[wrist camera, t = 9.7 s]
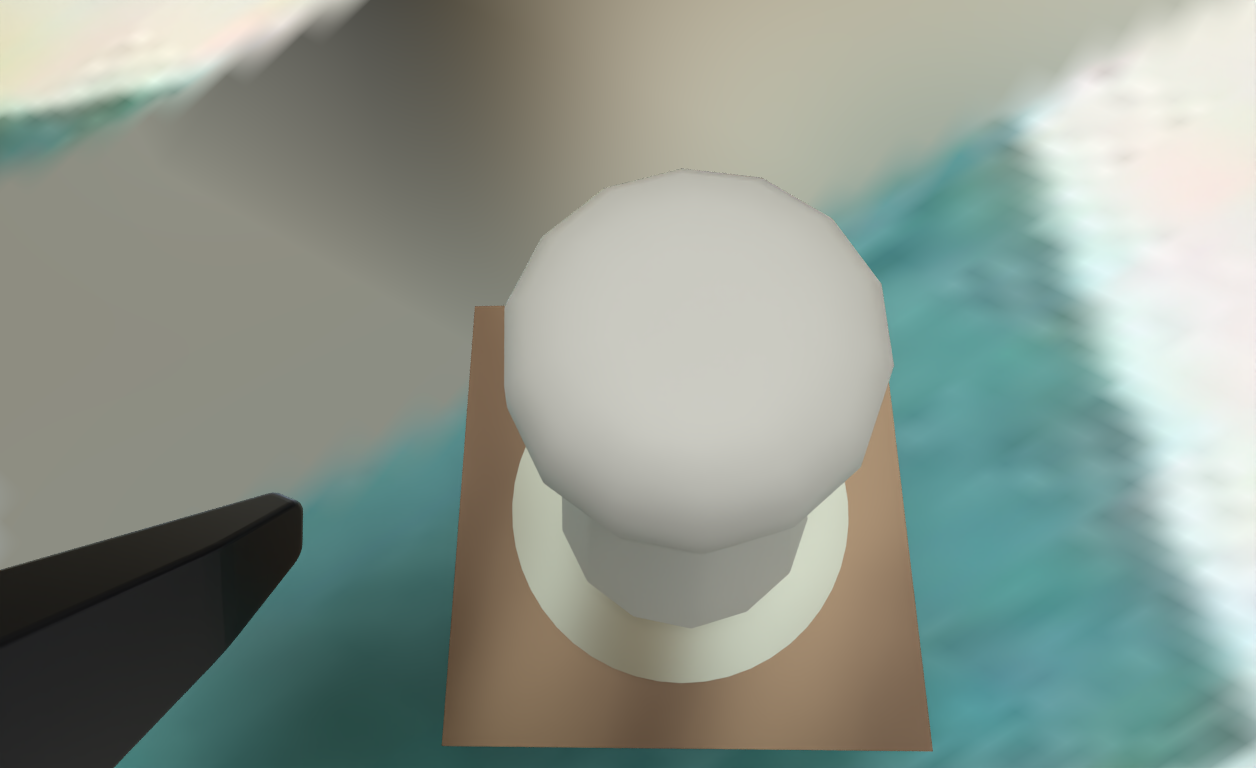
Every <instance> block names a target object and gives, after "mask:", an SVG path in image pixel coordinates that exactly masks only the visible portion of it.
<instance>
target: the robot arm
mask: <svg viewBox="0 0 1256 768" xmlns="http://www.w3.org/2000/svg"><path fill="white" fill-rule="evenodd" d="M302 539H303V508H302V506H301V504H300V503H299V502H298V501H296V500H294V499H292V498H289V497H287V496H284V495H282V494H279V493H269V494H265V495H261V496H258V497H254V498H251V499H247V500H244V501H240V502H237V503H233V504H230V505H226V506H223V507H219V508H216V509H212V510H208V511H205V512H201V513H198V514H194V515H191V516H188V517H184V518H180V519H177V520H173V521H170V522H167V523H163V524H159V525H156V526H152V527H149V528H145V529H142V530H139V531H135V532H131V533H128V534H124V535H121V536H117V537H114V538H110V539H107V540H104V541H100V542H96V543H93V544H90V545H86V546H82V547H79V548H75V549H72V550H68V551H65V552H61V553H58V554H54V555H51V556H47V557H44V558H40V559H37V560H33V561H30V562H26V563H23V564H19V565H16V566H12V567H8V568H5V569H1V570H0V768H114V767H115V766H116V765H117V764H118V763H119V762H120V761H121V760H122V759H123V757H124V756H125V755H126V754H127V753H128V752H129V751H130V750H131V749H132V748H133V747H134V746H135V745H136V744H137V743H138V742H139V741H140V740H141V739H142V738H143V737H144V736H145V735H146V733H147V732H148V731H149V730H150V729H151V728H152V727H153V726H154V725H155V724H156V723H157V722H158V721H159V720H160V719H161V718H162V717H163V716H164V715H165V714H166V713H167V712H168V711H169V709H170V708H171V707H172V706H173V705H174V704H175V703H176V702H177V701H178V700H179V699H180V698H181V697H182V696H183V695H184V694H185V693H186V692H187V691H188V690H189V689H190V688H191V686H192V685H193V684H194V683H195V682H196V681H197V680H198V679H199V678H200V677H201V676H202V675H203V674H204V673H205V672H206V671H207V670H208V669H209V668H210V667H211V666H212V665H213V663H214V662H215V661H216V660H217V659H218V658H219V657H220V656H221V655H222V654H223V653H224V651H225V650H226V649H227V648H228V647H229V646H230V644H231V643H232V642H233V641H234V640H235V638H236V637H237V636H238V635H239V633H240V632H241V631H242V630H243V628H244V627H245V626H246V625H247V623H248V622H249V621H250V620H251V618H252V617H253V616H254V614H255V613H256V612H257V611H258V609H259V608H260V607H261V606H262V604H263V603H264V602H265V600H266V599H267V598H268V597H269V595H270V594H271V593H272V592H273V590H274V589H275V588H276V586H277V585H278V584H279V583H280V581H281V580H282V579H283V578H284V576H285V575H286V574H287V572H288V571H289V570H290V569H291V567H292V566H293V565H294V563H295V562H296V561H297V559H298V557H299V555H300V553H301V549H302Z"/></svg>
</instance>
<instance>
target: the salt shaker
mask: <svg viewBox="0 0 1256 768" xmlns="http://www.w3.org/2000/svg"><path fill="white" fill-rule="evenodd" d="M893 367H894V363H893V357H892V350H891V344H890V337H889V331H888V324H887V318H886V311H885V305H884V298H883V291H882V285H881V283H880V282H879V280H878V279H877V278H876V276H875V275H874V274H873V272H872V271H871V270H870V268H869V267H868V266H867V264H866V263H865V262H864V260H863V259H862V258H861V256H860V255H859V254H858V252H857V251H856V250H855V248H854V247H853V245H852V244H851V243H850V241H849V240H848V239H847V237H846V236H845V235H844V233H843V232H842V231H841V229H840V228H839V227H838V225H837V224H836V223H835V221H834V220H833V219H832V218H830V217H829V216H827V215H825V214H823V213H822V212H820V211H818V210H817V209H815V208H813V207H811V206H810V205H808V204H806V203H805V202H803V201H801V200H800V199H798V198H796V197H794V196H793V195H791V194H789V193H788V192H786V191H784V190H782V189H781V188H779V187H777V186H776V185H774V184H772V183H770V182H769V181H767V180H765V179H763V178H760V177H751V176H743V175H734V174H725V173H716V172H708V171H700V170H691V169H682V168H681V169H677V170H674V171H670V172H666V173H662V174H658V175H654V176H650V177H646V178H642V179H638V180H634V181H630V182H626V183H622V184H618V185H614V186H610V187H606V188H603V189H602V190H601V191H600V192H598V193H597V194H596V195H595V196H593V197H592V198H591V199H590V200H588V201H587V202H586V203H584V204H583V205H582V206H581V207H579V208H578V209H577V210H576V211H574V212H573V213H572V214H570V215H569V216H568V217H567V218H565V219H564V220H563V221H562V222H560V223H559V224H558V225H556V226H555V227H554V228H553V229H551V230H550V231H549V232H548V233H546V234H545V235H544V236H543V237H542V238H541V240H540V241H539V244H538V245H537V247H536V249H535V251H534V253H533V254H532V256H531V258H530V260H529V262H528V264H527V266H526V267H525V270H524V271H523V273H522V275H521V277H520V279H519V281H518V282H517V284H516V286H515V288H514V290H513V292H512V294H511V296H510V297H509V299H508V301H507V303H506V305H505V309H504V389H505V396H506V404H507V408H508V411H509V413H510V415H511V417H512V419H513V421H514V423H515V425H516V427H517V429H518V431H519V433H520V436H521V438H522V440H523V442H524V444H525V446H526V448H527V450H528V452H529V454H530V456H531V458H532V461H533V463H534V465H535V467H536V469H537V471H538V473H539V475H540V477H541V479H542V481H543V483H544V484H545V485H547V486H548V487H550V488H551V489H552V490H554V491H555V492H556V493H558V494H559V495H560V496H562V531H563V533H564V535H565V537H566V539H567V541H568V543H569V545H570V547H571V549H572V551H573V553H574V555H575V557H576V559H577V561H578V563H579V565H580V568H581V570H582V572H583V574H584V576H585V578H586V580H587V582H589V583H590V584H591V585H592V586H594V587H595V588H596V589H598V590H599V591H600V592H602V593H603V594H604V595H606V596H607V597H608V598H610V599H611V600H612V601H614V602H615V603H616V604H618V605H619V606H620V607H622V608H623V609H624V610H625V611H627V612H628V613H629V614H631V615H632V616H634V617H639V618H643V619H648V620H653V621H658V622H662V623H667V624H672V625H677V626H681V627H686V628H691V629H692V628H695V627H698V626H701V625H705V624H708V623H711V622H715V621H718V620H721V619H724V618H728V617H731V616H734V615H737V614H741V613H744V612H747V611H748V610H749V609H750V608H751V607H752V606H754V605H755V604H756V603H757V602H758V601H759V600H760V599H761V598H762V597H764V596H765V595H766V594H767V593H768V592H769V591H770V590H771V589H772V588H774V587H775V586H776V585H777V584H778V583H779V582H780V581H781V580H782V579H784V578H785V577H786V576H787V575H788V574H789V573H790V571H791V568H792V565H793V562H794V559H795V556H796V553H797V550H798V547H799V544H800V541H801V538H802V534H803V531H804V528H805V525H806V522H807V519H808V518H807V515H808V514H810V513H811V512H812V511H813V510H814V509H815V508H816V507H817V506H818V505H820V504H821V503H822V502H823V501H824V500H825V499H826V498H827V497H828V496H829V495H831V494H832V493H833V492H834V491H835V490H836V489H837V488H838V487H839V486H841V485H842V484H843V483H844V482H845V481H846V480H847V479H848V478H849V477H850V476H852V475H853V474H854V473H855V472H856V471H857V470H858V469H859V468H860V467H861V465H862V462H863V459H864V456H865V453H866V450H867V446H868V443H869V440H870V437H871V434H872V431H873V428H874V425H875V422H876V419H877V416H878V413H879V410H880V407H881V404H882V401H883V398H884V395H885V392H886V389H887V386H888V382H889V379H890V376H891V373H892V370H893Z"/></svg>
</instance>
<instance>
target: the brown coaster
mask: <svg viewBox="0 0 1256 768" xmlns="http://www.w3.org/2000/svg"><path fill="white" fill-rule="evenodd" d="M504 309H505V306H475V313H474V326H473V340H472V353H471V366H470V380H469V393H468V406H467V419H466V432H465V446H464V459H463V472H462V485H461V499H460V512H459V525H458V538H457V552H456V565H455V578H454V591H453V605H452V618H451V631H450V644H449V658H448V671H447V684H446V697H445V711H444V724H443V737H442V746H491V747H583V748H676V749H769V750H862V751H933V749H932V741H931V732H930V724H929V716H928V707H927V699H926V690H925V682H924V673H923V665H922V657H921V648H920V640H919V631H918V623H917V615H916V606H915V598H914V589H913V581H912V572H911V564H910V556H909V547H908V539H907V530H906V522H905V514H904V505H903V497H902V488H901V480H900V472H899V463H898V455H897V446H896V438H895V429H894V421H893V413H892V404H891V396H890V387H889V382H888V386H887V389H886V392H885V395H884V398H883V401H882V404H881V407H880V410H879V413H878V416H877V419H876V422H875V425H874V428H873V431H872V434H871V437H870V440H869V443H868V446H867V450H866V453H865V456H864V459H863V462H862V465H861V467H860V468H859V469H858V470H857V471H856V472H855V473H854V474H853V475H852V476H850V477H849V478H848V479H847V480H846V481H845V482H844V483H843V484H842V485H841V486H839V487H838V488H837V489H836V490H835V491H834V492H833V493H832V494H831V495H829V496H828V497H827V498H826V499H825V500H824V501H823V502H822V503H821V504H820V505H818V506H817V507H816V508H815V509H814V510H813V511H812V512H811V513H810V514H808V515H807V518H808V519H807V522H806V525H805V528H804V531H803V534H802V538H801V541H800V544H799V547H798V550H797V553H796V556H795V559H794V562H793V565H792V568H791V571H790V573H789V574H788V575H787V576H786V577H785V578H784V579H782V580H781V581H780V582H779V583H778V584H777V585H776V586H775V587H774V588H772V589H771V590H770V591H769V592H768V593H767V594H766V595H765V596H764V597H762V598H761V599H760V600H759V601H758V602H757V603H756V604H755V605H754V606H752V607H751V608H750V609H749V610H748V611H747V612H744V613H741V614H737V615H734V616H731V617H728V618H724V619H721V620H718V621H715V622H711V623H708V624H705V625H701V626H698V627H695V628H692V629H691V628H686V627H681V626H677V625H672V624H667V623H662V622H658V621H653V620H648V619H643V618H639V617H634V616H632V615H631V614H629V613H628V612H627V611H625V610H624V609H623V608H622V607H620V606H619V605H618V604H616V603H615V602H614V601H612V600H611V599H610V598H608V597H607V596H606V595H604V594H603V593H602V592H600V591H599V590H598V589H596V588H595V587H594V586H592V585H591V584H590V583H589V582H587V580H586V578H585V576H584V574H583V572H582V570H581V568H580V565H579V563H578V561H577V559H576V557H575V555H574V553H573V551H572V549H571V547H570V545H569V543H568V541H567V539H566V537H565V535H564V533H563V531H562V496H560V495H559V494H558V493H556V492H555V491H554V490H552V489H551V488H550V487H548V486H547V485H545V484H544V483H543V481H542V479H541V477H540V475H539V473H538V471H537V469H536V467H535V465H534V463H533V461H532V458H531V456H530V454H529V452H528V450H527V448H526V446H525V444H524V442H523V440H522V438H521V436H520V433H519V431H518V429H517V427H516V425H515V423H514V421H513V419H512V417H511V415H510V413H509V411H508V408H507V404H506V396H505V389H504Z"/></svg>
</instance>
